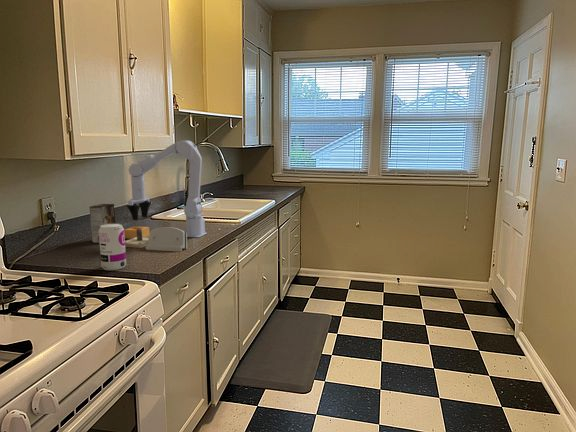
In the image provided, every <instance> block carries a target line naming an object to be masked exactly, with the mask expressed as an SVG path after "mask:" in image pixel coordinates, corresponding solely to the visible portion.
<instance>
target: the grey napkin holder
mask: <svg viewBox="0 0 576 432" xmlns="http://www.w3.org/2000/svg"><path fill="white" fill-rule="evenodd" d="M149 232H150V236H148V237H149V240H148V243H147V245H146V246H145V250H147V251H163V252H164V251H165V252H166V251H167V252H183V250H187V249H188V237H187V233H186V231H185V230H183V229H180V228H177V227H172V226H162V227H157V228H153V229H150V231H149Z"/></svg>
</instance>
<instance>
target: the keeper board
mask: <svg viewBox="0 0 576 432" xmlns="http://www.w3.org/2000/svg"><path fill="white" fill-rule="evenodd" d="M148 240H149V236H147V237H142V229H137V237H135V238H133V239H127V240H125V248H133V249H134V248H135V249H136V248H137V249H138V248H140V249H142V248H146V245H147V243H148Z"/></svg>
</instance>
